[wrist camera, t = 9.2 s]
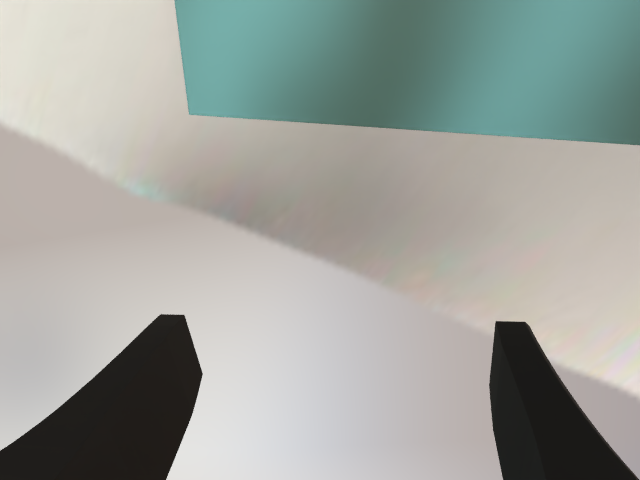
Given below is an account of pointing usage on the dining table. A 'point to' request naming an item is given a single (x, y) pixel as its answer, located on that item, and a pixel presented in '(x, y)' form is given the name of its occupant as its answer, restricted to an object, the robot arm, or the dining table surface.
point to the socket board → (420, 64)
